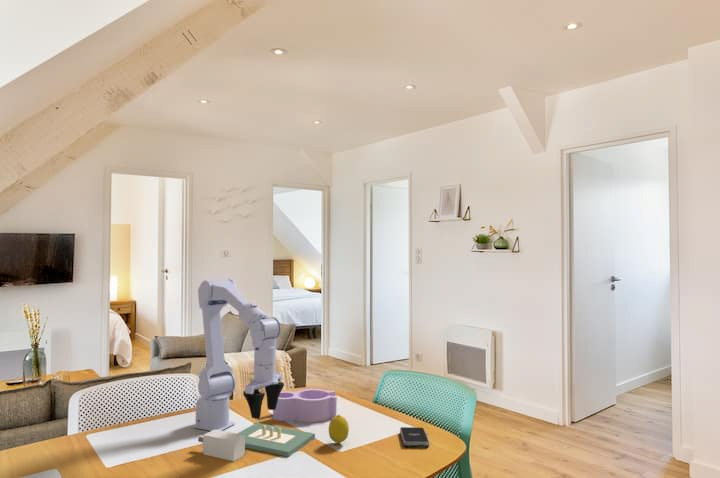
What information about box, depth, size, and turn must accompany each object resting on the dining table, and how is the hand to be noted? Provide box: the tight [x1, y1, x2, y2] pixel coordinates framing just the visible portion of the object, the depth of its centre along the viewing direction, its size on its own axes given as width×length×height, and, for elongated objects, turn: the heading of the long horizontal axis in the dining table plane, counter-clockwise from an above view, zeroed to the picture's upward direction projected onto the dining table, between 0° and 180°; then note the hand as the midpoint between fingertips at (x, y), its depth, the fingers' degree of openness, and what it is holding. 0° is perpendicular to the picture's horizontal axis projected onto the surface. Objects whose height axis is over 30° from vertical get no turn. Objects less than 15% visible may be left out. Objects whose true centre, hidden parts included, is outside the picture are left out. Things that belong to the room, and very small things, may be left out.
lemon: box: [328, 414, 350, 445], centre depth 136 cm, size 6×6×8 cm
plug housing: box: [197, 429, 246, 462], centre depth 129 cm, size 13×4×5 cm, turn 66°
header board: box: [236, 422, 316, 458], centre depth 138 cm, size 20×14×4 cm
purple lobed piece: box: [272, 388, 338, 423], centre depth 159 cm, size 20×12×7 cm, turn 97°
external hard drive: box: [399, 426, 430, 449], centre depth 140 cm, size 7×11×2 cm, turn 1°
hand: (263, 413), depth 133 cm, fingers open, 7 cm apart
